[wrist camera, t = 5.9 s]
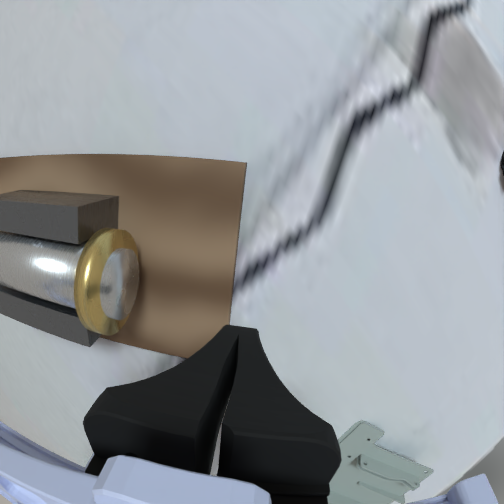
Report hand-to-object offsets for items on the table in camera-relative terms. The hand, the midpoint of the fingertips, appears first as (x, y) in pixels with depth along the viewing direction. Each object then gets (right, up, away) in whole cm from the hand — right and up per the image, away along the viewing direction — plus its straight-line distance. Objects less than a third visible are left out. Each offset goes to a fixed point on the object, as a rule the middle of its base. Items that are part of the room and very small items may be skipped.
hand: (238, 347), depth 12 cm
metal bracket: (+13, -20, +14) cm, 28 cm away
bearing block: (-13, +4, +8) cm, 16 cm away
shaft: (-14, +4, +7) cm, 16 cm away
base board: (-13, +4, +8) cm, 16 cm away
